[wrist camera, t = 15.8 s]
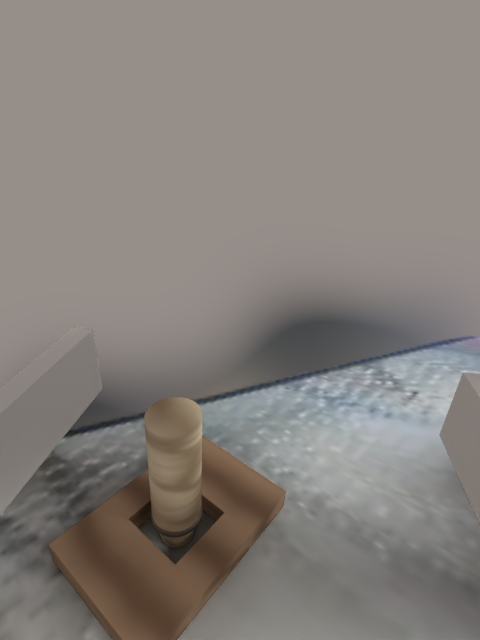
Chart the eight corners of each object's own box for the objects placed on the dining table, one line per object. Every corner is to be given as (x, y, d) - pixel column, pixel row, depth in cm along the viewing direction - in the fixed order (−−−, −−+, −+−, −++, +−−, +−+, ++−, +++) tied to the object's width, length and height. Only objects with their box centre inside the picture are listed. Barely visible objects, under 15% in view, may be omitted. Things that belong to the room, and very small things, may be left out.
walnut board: (197, 445, 51) (197, 431, 50) (283, 506, 43) (285, 491, 42) (53, 560, 36) (48, 544, 35) (144, 680, 29) (142, 665, 28)
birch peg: (178, 501, 43) (175, 389, 36) (212, 528, 40) (215, 413, 33) (142, 533, 39) (130, 416, 32) (176, 567, 36) (171, 446, 29)
